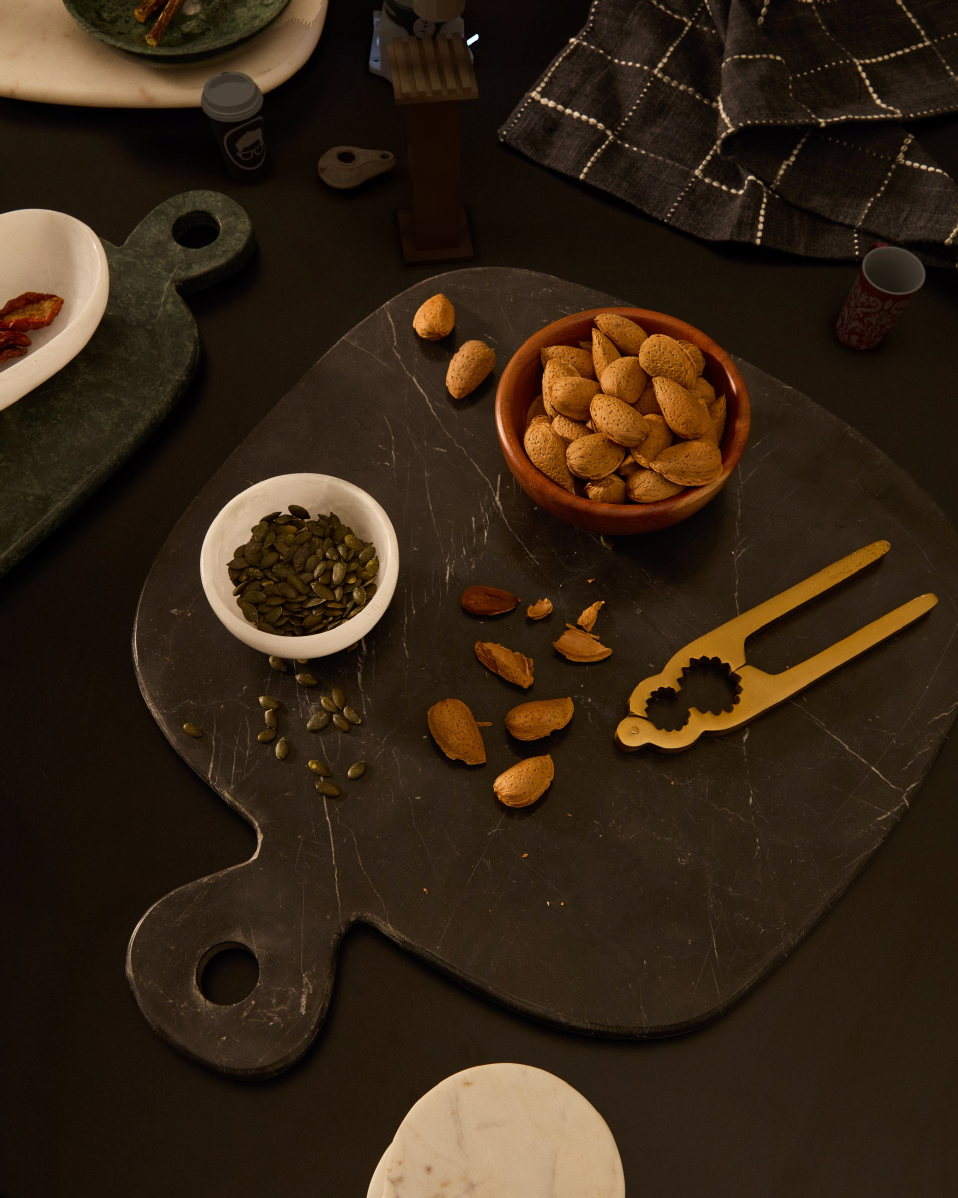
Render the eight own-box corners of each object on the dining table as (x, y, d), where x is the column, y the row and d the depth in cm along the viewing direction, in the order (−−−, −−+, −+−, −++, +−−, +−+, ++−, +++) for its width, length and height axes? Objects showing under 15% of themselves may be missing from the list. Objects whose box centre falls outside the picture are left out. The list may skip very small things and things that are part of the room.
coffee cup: (281, 151, 165) (266, 70, 151) (270, 192, 161) (254, 112, 147) (225, 146, 165) (205, 64, 151) (213, 186, 161) (191, 106, 147)
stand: (397, 215, 159) (386, 46, 132) (463, 209, 160) (466, 40, 133) (405, 266, 155) (395, 101, 128) (473, 259, 156) (478, 94, 129)
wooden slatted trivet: (386, 49, 133) (385, 37, 131) (466, 43, 134) (466, 31, 132) (395, 104, 128) (395, 92, 127) (478, 98, 129) (478, 86, 128)
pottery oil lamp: (402, 189, 161) (387, 169, 154) (336, 210, 164) (318, 192, 157) (393, 138, 162) (378, 117, 155) (327, 160, 165) (309, 140, 158)
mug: (890, 357, 149) (929, 295, 137) (831, 353, 149) (865, 291, 137) (882, 294, 155) (918, 229, 142) (825, 290, 155) (857, 224, 143)
